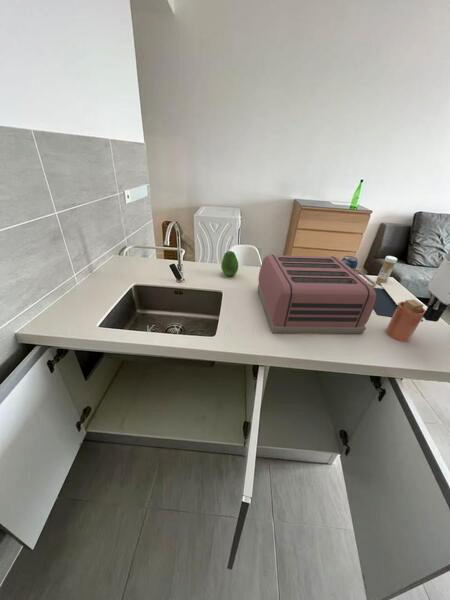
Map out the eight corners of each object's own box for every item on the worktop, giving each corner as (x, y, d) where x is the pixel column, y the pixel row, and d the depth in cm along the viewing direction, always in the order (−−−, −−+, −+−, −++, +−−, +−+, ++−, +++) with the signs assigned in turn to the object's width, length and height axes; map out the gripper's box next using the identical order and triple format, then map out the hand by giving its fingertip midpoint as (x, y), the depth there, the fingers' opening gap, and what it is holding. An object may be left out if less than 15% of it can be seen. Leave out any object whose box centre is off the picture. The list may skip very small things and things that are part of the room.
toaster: (376, 334, 82) (397, 290, 73) (270, 334, 80) (279, 288, 71) (336, 291, 108) (349, 254, 99) (255, 289, 106) (260, 251, 97)
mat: (396, 291, 111) (397, 290, 111) (422, 321, 91) (423, 320, 91) (359, 286, 113) (360, 285, 113) (377, 315, 93) (377, 314, 93)
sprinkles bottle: (373, 281, 118) (383, 255, 111) (380, 281, 119) (391, 255, 112) (380, 286, 114) (391, 259, 107) (388, 285, 115) (400, 259, 108)
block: (410, 308, 80) (414, 299, 78) (418, 314, 77) (423, 305, 75) (401, 308, 80) (405, 300, 78) (409, 314, 77) (414, 305, 75)
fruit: (235, 280, 112) (237, 255, 106) (219, 277, 114) (220, 253, 108) (238, 273, 119) (241, 249, 113) (223, 270, 120) (224, 247, 114)
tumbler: (404, 329, 86) (418, 303, 80) (414, 343, 80) (430, 315, 74) (382, 326, 87) (394, 300, 81) (390, 339, 81) (404, 312, 75)
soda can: (340, 285, 113) (348, 261, 107) (332, 278, 119) (339, 255, 113) (353, 284, 114) (362, 260, 108) (344, 278, 120) (352, 255, 114)
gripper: (508, 273, 52) (460, 338, 62) (464, 250, 65) (430, 307, 75) (470, 268, 53) (428, 333, 63) (433, 247, 66) (403, 303, 76)
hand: (429, 319), depth 69 cm, fingers closed
